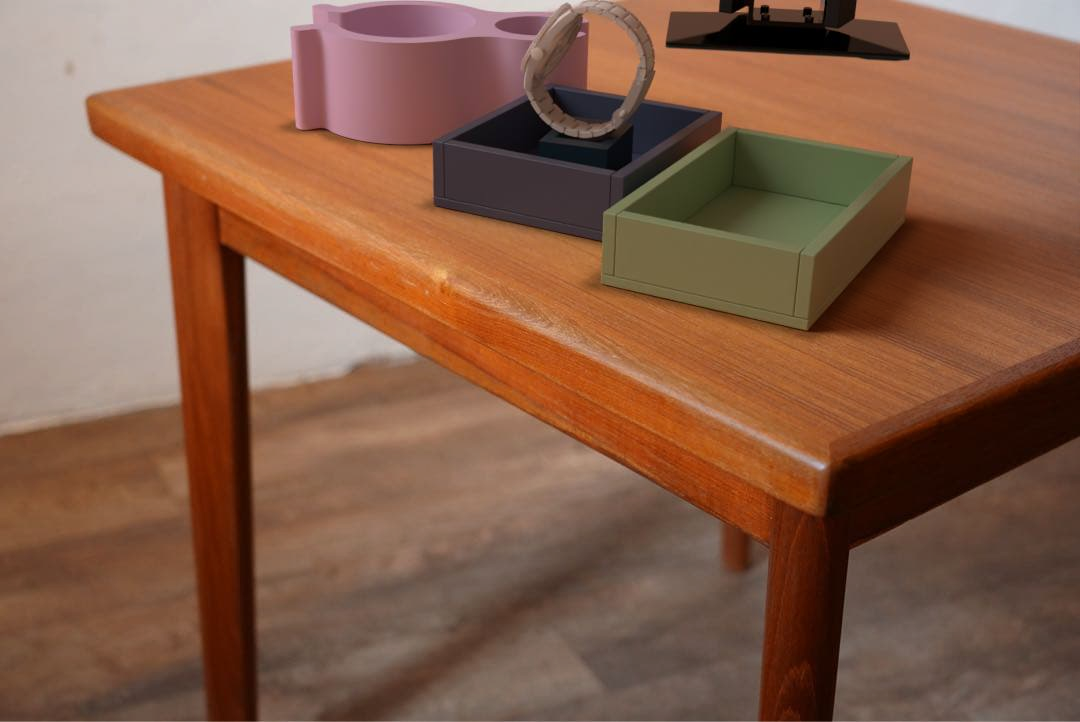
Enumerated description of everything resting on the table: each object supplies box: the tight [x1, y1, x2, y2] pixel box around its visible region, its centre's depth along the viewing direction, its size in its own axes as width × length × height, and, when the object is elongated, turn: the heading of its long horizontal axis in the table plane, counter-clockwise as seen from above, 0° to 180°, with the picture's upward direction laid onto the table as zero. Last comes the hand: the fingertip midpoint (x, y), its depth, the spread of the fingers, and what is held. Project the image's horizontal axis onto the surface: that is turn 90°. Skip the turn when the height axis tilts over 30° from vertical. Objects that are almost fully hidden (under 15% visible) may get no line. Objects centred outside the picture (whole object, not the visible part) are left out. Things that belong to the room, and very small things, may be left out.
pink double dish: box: [289, 0, 590, 145], centre depth 102 cm, size 20×12×7 cm, turn 85°
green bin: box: [600, 125, 914, 331], centre depth 81 cm, size 12×18×4 cm, turn 151°
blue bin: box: [432, 83, 723, 242], centre depth 90 cm, size 13×15×4 cm
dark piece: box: [664, 0, 911, 62], centre depth 76 cm, size 12×7×5 cm, turn 83°
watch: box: [520, 0, 656, 172], centre depth 88 cm, size 6×8×11 cm
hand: (786, 14), depth 76 cm, fingers closed on dark piece, 5 cm apart
